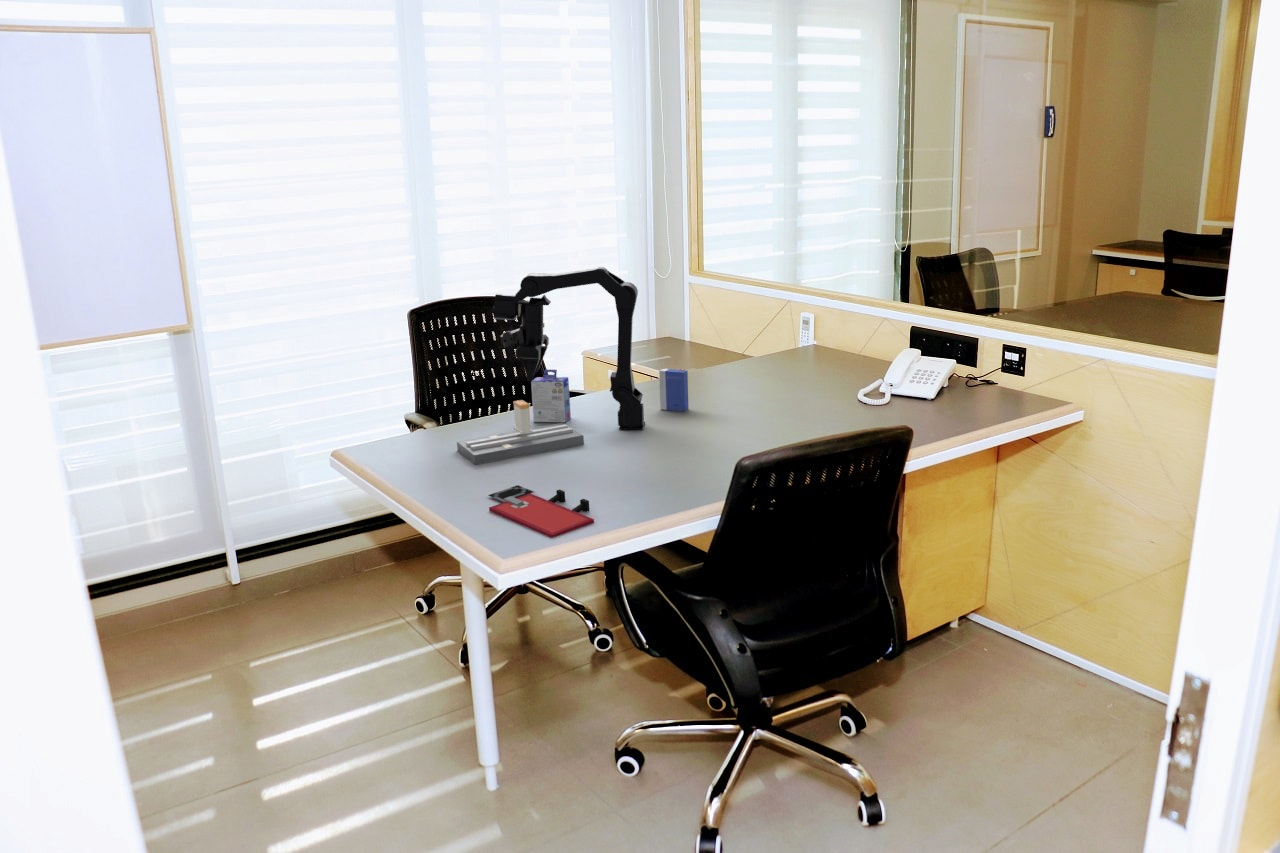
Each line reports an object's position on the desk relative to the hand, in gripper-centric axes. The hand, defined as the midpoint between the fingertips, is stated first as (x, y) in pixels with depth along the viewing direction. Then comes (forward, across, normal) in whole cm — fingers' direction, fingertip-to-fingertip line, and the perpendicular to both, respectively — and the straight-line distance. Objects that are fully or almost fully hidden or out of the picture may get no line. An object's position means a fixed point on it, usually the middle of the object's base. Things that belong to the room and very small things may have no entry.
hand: (532, 376), depth 285 cm
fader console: (+15, +17, 0) cm, 23 cm away
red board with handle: (+15, +63, +12) cm, 66 cm away
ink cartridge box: (+15, -8, +4) cm, 18 cm away
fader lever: (+12, +17, 0) cm, 21 cm away
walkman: (+12, -17, +39) cm, 44 cm away
